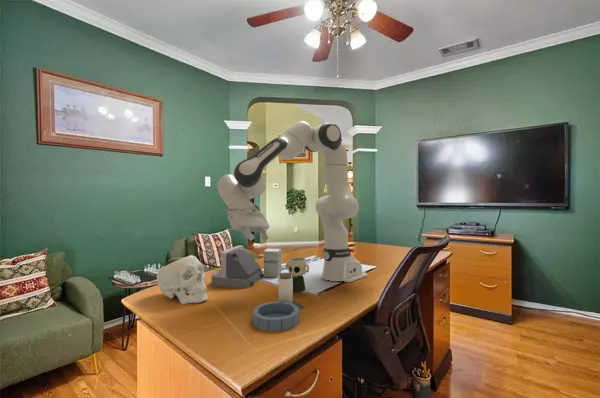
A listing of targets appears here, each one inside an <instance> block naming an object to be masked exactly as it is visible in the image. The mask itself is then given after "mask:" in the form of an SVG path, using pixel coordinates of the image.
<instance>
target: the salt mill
mask: <svg viewBox="0 0 600 398" xmlns="http://www.w3.org/2000/svg"><path fill="white" fill-rule="evenodd" d="M277 278H278V279H277V281H278V283H277V284H278V289H277V290H278V291H277V293H278V294H277V295H278V301H282V302H289V303H293V301H294V289H293V277H292V275H291V273H289V272H281V274H280V276H279V277H277Z"/></svg>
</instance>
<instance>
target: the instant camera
mask: <svg viewBox="0 0 600 398" xmlns="http://www.w3.org/2000/svg"><path fill="white" fill-rule="evenodd" d="M244 249H245V248H244V245H235V246H233V247H231V248H228V249H226V250H223V251H221V253H220V270H218V271H215V272H213V273H211V287H225V288H226V287H227V288H241V289H247V288H251V287H252V286H253V285H254V284H255V283H257V282H258V281H259V280H260V279H261V278H264V273H263V269H262V268H261V266H260V264H259V263H258V262H257V261H256V260H255V259H254V258H253V257H251V256H250V254H248V253H247V252H246V251H245V250H244Z"/></svg>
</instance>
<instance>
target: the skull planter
mask: <svg viewBox="0 0 600 398" xmlns="http://www.w3.org/2000/svg"><path fill="white" fill-rule="evenodd" d="M204 270H205V267H204V266H203V264H202V262H201V261H200V260H199V259H198V258H197V257H196V256H195V255H192V254H191V255H188V256H185V257H182V258H180V259H178V260H175V261H173V262H171V263H168V264H166V265H164V266H162V267H161V268H158V270H157V273H156V280H157V281H156V282H157V285H158V288H159V290H160V292H161V294H162V295H163V296H165V297H167V298H169V299H173V298H174V297H177V298H178V300H179V303H180V304H182V305H186V304H199V303H202V302H204V301H207V300H208V295H207V285H206V284H205V282H206V275H205V271H204ZM186 293H188V295H187V294H186Z"/></svg>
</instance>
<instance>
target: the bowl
mask: <svg viewBox="0 0 600 398" xmlns="http://www.w3.org/2000/svg"><path fill="white" fill-rule="evenodd" d="M299 322H300V310H299V307H298V306H296V305H295V304H293V303H289V302H282V301H279V300H278V301H268V302H265V303H261V304H259V305H257V306H255V307H254V308H253V310H252V324H253V325H254V326H255V328H257V329H259V330H262V331H268V332H281V331H286V330H290V329H292V328H294V327H296V326H297V325H298V323H299Z"/></svg>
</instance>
